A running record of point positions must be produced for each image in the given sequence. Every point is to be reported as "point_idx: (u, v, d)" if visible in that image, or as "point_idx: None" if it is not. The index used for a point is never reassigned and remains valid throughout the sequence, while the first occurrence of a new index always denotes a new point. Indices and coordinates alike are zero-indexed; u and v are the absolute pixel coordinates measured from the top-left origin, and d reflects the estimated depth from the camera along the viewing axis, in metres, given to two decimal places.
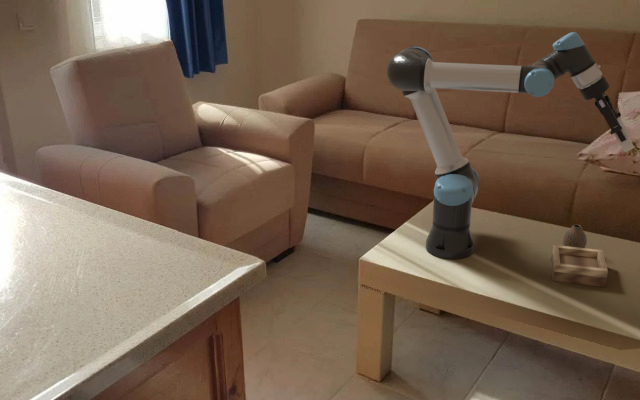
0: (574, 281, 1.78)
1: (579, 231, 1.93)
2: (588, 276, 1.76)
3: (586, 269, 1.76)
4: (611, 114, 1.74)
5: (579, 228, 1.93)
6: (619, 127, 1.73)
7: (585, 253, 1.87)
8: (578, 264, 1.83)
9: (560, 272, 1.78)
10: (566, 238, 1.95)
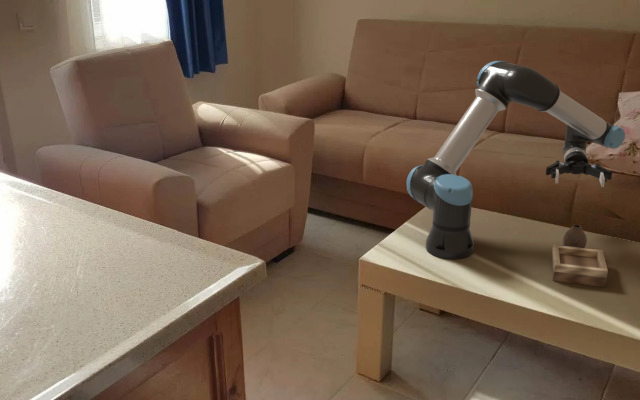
0: (574, 281, 1.78)
1: (579, 231, 1.93)
2: (588, 276, 1.76)
3: (586, 269, 1.76)
4: None
5: (579, 228, 1.93)
6: None
7: (585, 253, 1.87)
8: (578, 264, 1.83)
9: (560, 272, 1.78)
10: (566, 238, 1.95)
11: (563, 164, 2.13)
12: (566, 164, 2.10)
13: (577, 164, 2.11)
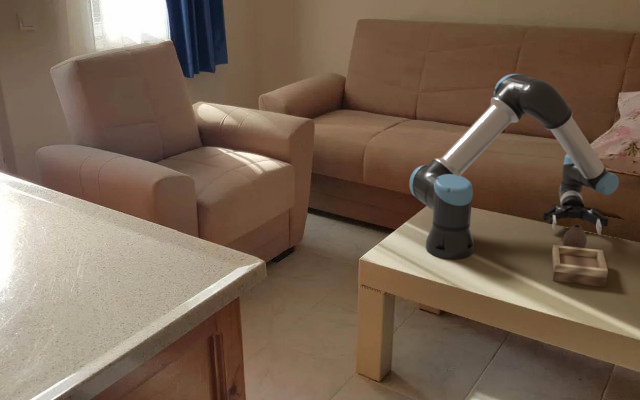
0: (574, 281, 1.78)
1: (579, 231, 1.93)
2: (588, 276, 1.76)
3: (586, 269, 1.76)
4: None
5: (579, 228, 1.93)
6: None
7: (585, 253, 1.87)
8: (578, 264, 1.83)
9: (560, 272, 1.78)
10: (566, 238, 1.95)
11: (560, 208, 2.14)
12: (563, 209, 2.11)
13: (574, 209, 2.12)
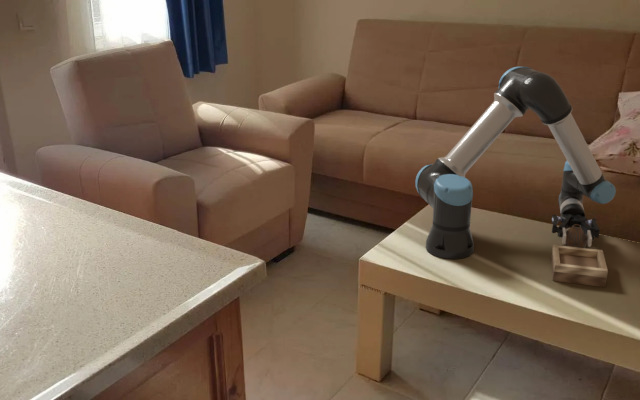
0: (574, 281, 1.78)
1: (579, 231, 1.93)
2: (588, 276, 1.76)
3: (586, 269, 1.76)
4: None
5: (579, 228, 1.93)
6: (598, 236, 1.96)
7: (585, 253, 1.87)
8: (578, 264, 1.83)
9: (560, 272, 1.78)
10: (566, 238, 1.95)
11: (560, 218, 2.06)
12: (566, 219, 2.02)
13: (574, 218, 2.04)
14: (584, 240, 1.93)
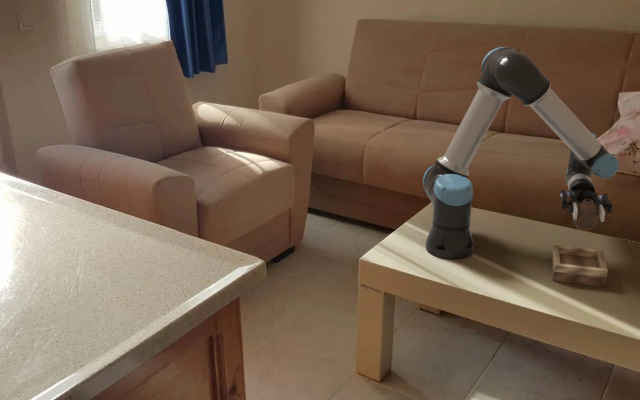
0: (574, 281, 1.78)
1: (591, 206, 1.82)
2: (588, 276, 1.76)
3: (586, 269, 1.76)
4: None
5: (591, 202, 1.82)
6: None
7: (585, 253, 1.87)
8: (578, 264, 1.83)
9: (560, 272, 1.78)
10: (577, 214, 1.83)
11: (569, 193, 1.94)
12: (576, 194, 1.90)
13: (584, 193, 1.92)
14: (596, 215, 1.82)
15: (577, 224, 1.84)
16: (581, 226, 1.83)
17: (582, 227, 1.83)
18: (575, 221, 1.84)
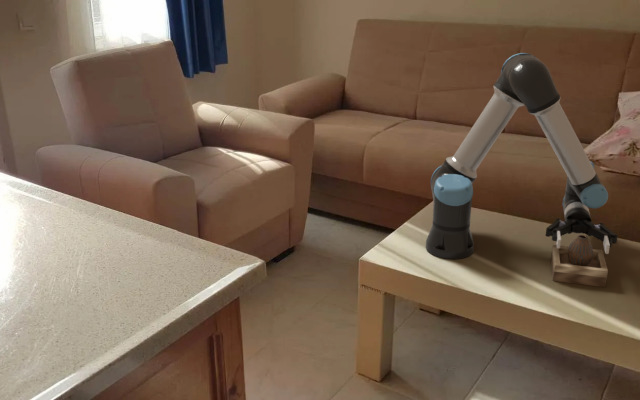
0: (574, 281, 1.78)
1: (585, 242, 1.79)
2: (588, 276, 1.76)
3: (586, 269, 1.76)
4: None
5: (585, 239, 1.79)
6: None
7: None
8: None
9: (560, 272, 1.78)
10: (571, 250, 1.80)
11: (564, 223, 1.91)
12: (567, 224, 1.88)
13: (579, 223, 1.89)
14: (590, 252, 1.79)
15: (571, 260, 1.81)
16: (575, 263, 1.81)
17: (576, 264, 1.81)
18: (569, 257, 1.82)
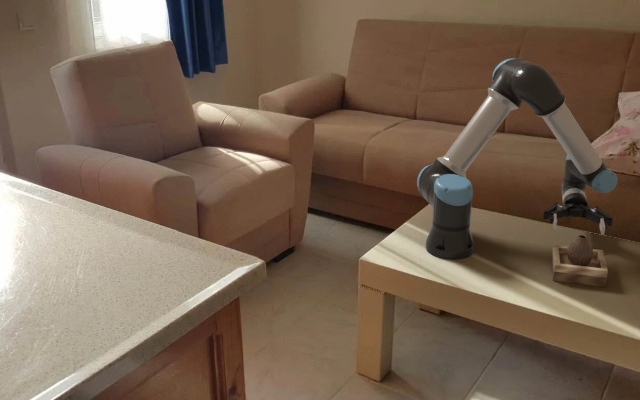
0: (574, 281, 1.78)
1: (585, 242, 1.79)
2: (588, 276, 1.76)
3: (586, 269, 1.76)
4: None
5: (585, 239, 1.79)
6: None
7: None
8: None
9: (560, 272, 1.78)
10: (571, 250, 1.80)
11: (561, 207, 2.03)
12: (564, 207, 2.00)
13: (576, 207, 2.00)
14: (590, 252, 1.79)
15: (571, 260, 1.81)
16: (575, 263, 1.81)
17: (576, 264, 1.81)
18: (569, 257, 1.82)
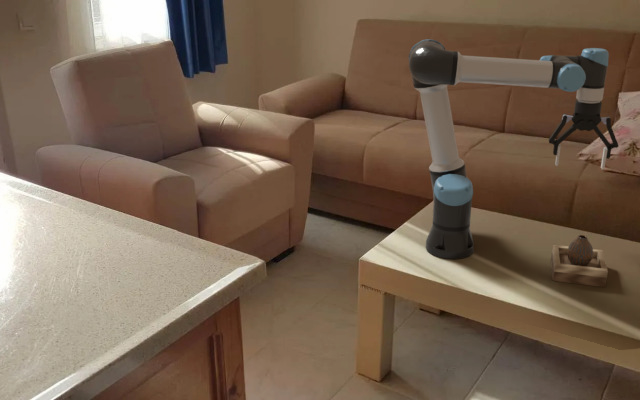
0: (574, 281, 1.78)
1: (585, 242, 1.79)
2: (588, 276, 1.76)
3: (586, 269, 1.76)
4: None
5: (585, 239, 1.79)
6: None
7: None
8: None
9: (560, 272, 1.78)
10: (571, 250, 1.80)
11: (571, 119, 1.94)
12: (572, 130, 1.94)
13: (585, 124, 1.92)
14: (590, 252, 1.79)
15: (571, 260, 1.81)
16: (575, 263, 1.81)
17: (576, 264, 1.81)
18: (569, 257, 1.82)
